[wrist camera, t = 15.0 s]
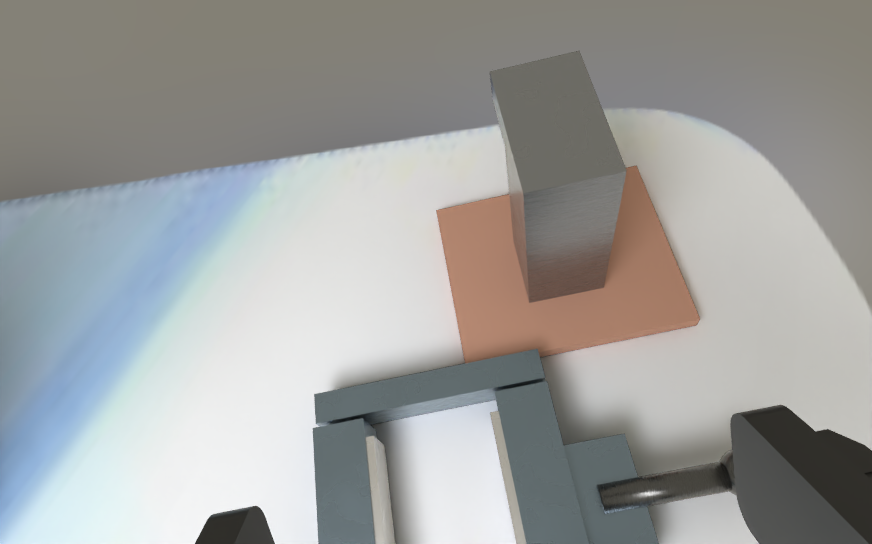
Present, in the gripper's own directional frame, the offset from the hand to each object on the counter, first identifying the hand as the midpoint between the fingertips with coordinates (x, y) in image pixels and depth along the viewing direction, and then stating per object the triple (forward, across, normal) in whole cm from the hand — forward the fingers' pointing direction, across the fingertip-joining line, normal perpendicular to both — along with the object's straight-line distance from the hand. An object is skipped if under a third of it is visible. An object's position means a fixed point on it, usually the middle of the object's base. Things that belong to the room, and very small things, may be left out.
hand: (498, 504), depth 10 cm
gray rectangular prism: (+24, -5, +2) cm, 24 cm away
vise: (+15, -1, +12) cm, 19 cm away
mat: (+23, -5, +4) cm, 24 cm away
